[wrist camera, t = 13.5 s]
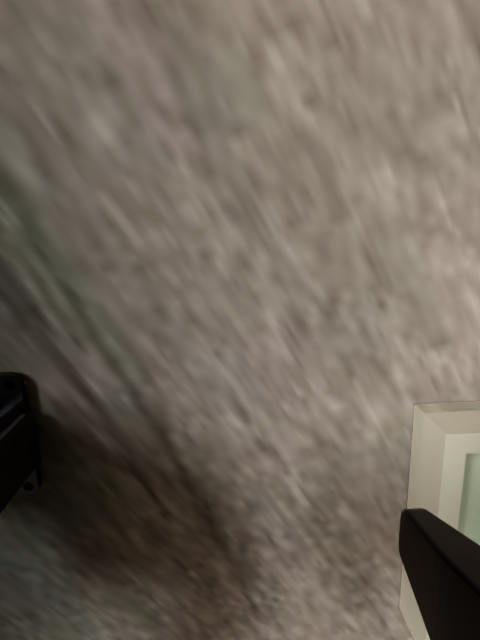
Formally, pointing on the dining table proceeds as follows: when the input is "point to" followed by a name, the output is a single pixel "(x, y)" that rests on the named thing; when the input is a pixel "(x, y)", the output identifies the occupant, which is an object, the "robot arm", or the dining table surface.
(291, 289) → the dining table surface
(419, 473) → the tray
